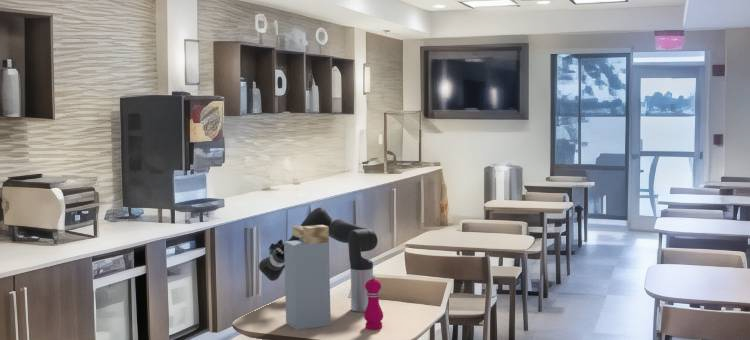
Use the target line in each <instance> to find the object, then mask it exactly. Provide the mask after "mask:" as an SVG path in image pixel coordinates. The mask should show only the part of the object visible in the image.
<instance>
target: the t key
mask: <svg viewBox="0 0 750 340" xmlns="http://www.w3.org/2000/svg"><path fill="white" fill-rule="evenodd" d="M291 230H292V231H291V232H292V234H291V236H296V237H298V238H300V237H303V242H305V243H307V244H317V243H328V242H329V243H330V237H329V227H328V226H325V225H314V226H300V225H294V226H291Z"/></svg>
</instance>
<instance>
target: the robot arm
mask: <svg viewBox="0 0 750 340" xmlns="http://www.w3.org/2000/svg"><path fill="white" fill-rule="evenodd" d="M314 225H325V226H328V227H329V238H331V239H333V240H335V241H337V242H340V243H344V244H348V259H349V265H350V267H349V268H350V309H351V311H353V312H357V313H363V312H364V313H365V310H366V308H367V305H368V296H367V292H368V291H367V290H366V288H365V284H366V282H367V281H368V280H370V279H371V276H372V275H374V263H373V261H372V260H370V259H369V258H364V257H363V256H362V253H363V252H370V251H372V250H373V251H374V250H375V249H376V247H377V245H378V241H379V240H378V236H377V234H376V232H375V231H374V230H373V229H371V228H367V227H363V226H362V227H361V226H358V225H356V224H354V223H351V222H349V221H347V220H345V219H341V218H340V219H335V220H334V219H332V217H331V216H330V215H329V214H328V212H327V211H326V210H325V209H324V207H317V208H314V209H313V210H312V211H311V212H310V213H309V214H308V215H307V217H305V218H304V220H303V221H302V222H301V224H300V225H299V226H314ZM296 240H300V238H298V237H296V236H293V235H291V237H290V238H289V239H288V240H287V241H296ZM268 252H269V253H268V254H269V256H266V258H265V257H264V258H263V259H262V260H261V261H259V264H258V270H259V271H260V272H261V274H263V275H264V276H265V277H266V278H267V279H268V280H269V281H272V282H275V281H277V280H278V279H279V278H280V277H281V275H282V273H283V271H284V270H285V258H284V242H283V239H279V240H278V241H277V242H276V243H271V244H270V245H269V247H268Z"/></svg>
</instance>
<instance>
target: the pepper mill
mask: <svg viewBox="0 0 750 340" xmlns="http://www.w3.org/2000/svg"><path fill="white" fill-rule="evenodd" d="M365 288H366V290H367V291H368V292H367V296H368V305H367V308H366V310H365V312H364V314H363V319H364V320H365V321H366V322H365V329H367V330H372V331H373V330H380V329H382V328H383V322H382V321H383V319H384V312H383V310H382V307H381V305H380V302H379V301H380V300H379V299H380V296H381V295H380V293H381V292H380V290H381V289H382V283H381V281H380V280H378V279H376V275H374V274H373V275H372V276H371V279H370V280H368V281H367V282H366V284H365Z"/></svg>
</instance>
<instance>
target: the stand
mask: <svg viewBox="0 0 750 340" xmlns="http://www.w3.org/2000/svg"><path fill="white" fill-rule="evenodd" d="M283 244H284V258H285V268H284V285H285V287H284V288H285V289H284V290H285V295H284V296H285V324H286V325H287V326H289V327H290V328H292V329H294V330H295V331H301V330H307V329H314V328H321V327H329V326H331V325H332V324H331V323H332V322H331V321H332V320H331V319H332V318H331V317H332V316H331V284H330V283H331V282H330V280H331V279H330V272H331V271H330V241H329V242H328V243H317V244H307V243H305V242H303V237H300V240H296V241H288V240H286V241H284V242H283Z"/></svg>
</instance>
